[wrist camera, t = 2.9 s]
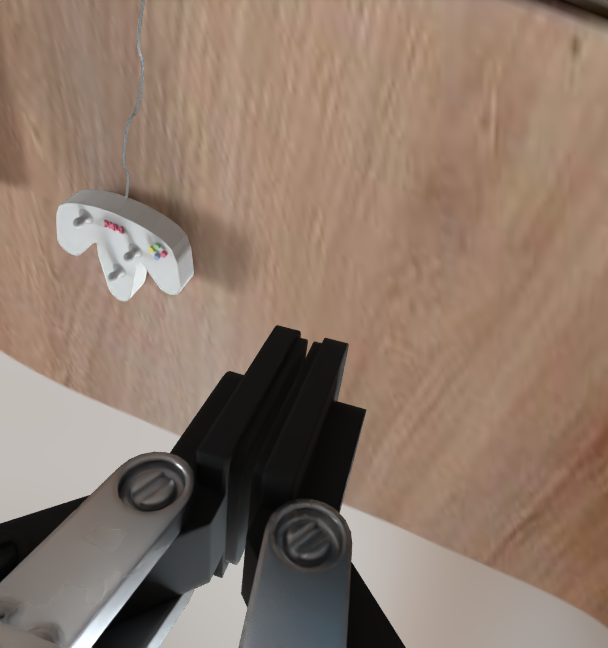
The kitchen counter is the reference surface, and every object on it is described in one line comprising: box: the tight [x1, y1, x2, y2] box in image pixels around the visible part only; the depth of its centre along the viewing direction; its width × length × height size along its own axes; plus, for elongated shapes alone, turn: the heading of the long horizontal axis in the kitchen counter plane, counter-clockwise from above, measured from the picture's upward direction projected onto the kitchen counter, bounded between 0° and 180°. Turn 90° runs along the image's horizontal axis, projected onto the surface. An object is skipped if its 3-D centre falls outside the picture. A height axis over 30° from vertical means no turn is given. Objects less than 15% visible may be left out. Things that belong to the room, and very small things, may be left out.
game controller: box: [56, 0, 194, 301], centre depth 19 cm, size 6×12×3 cm, turn 2°
